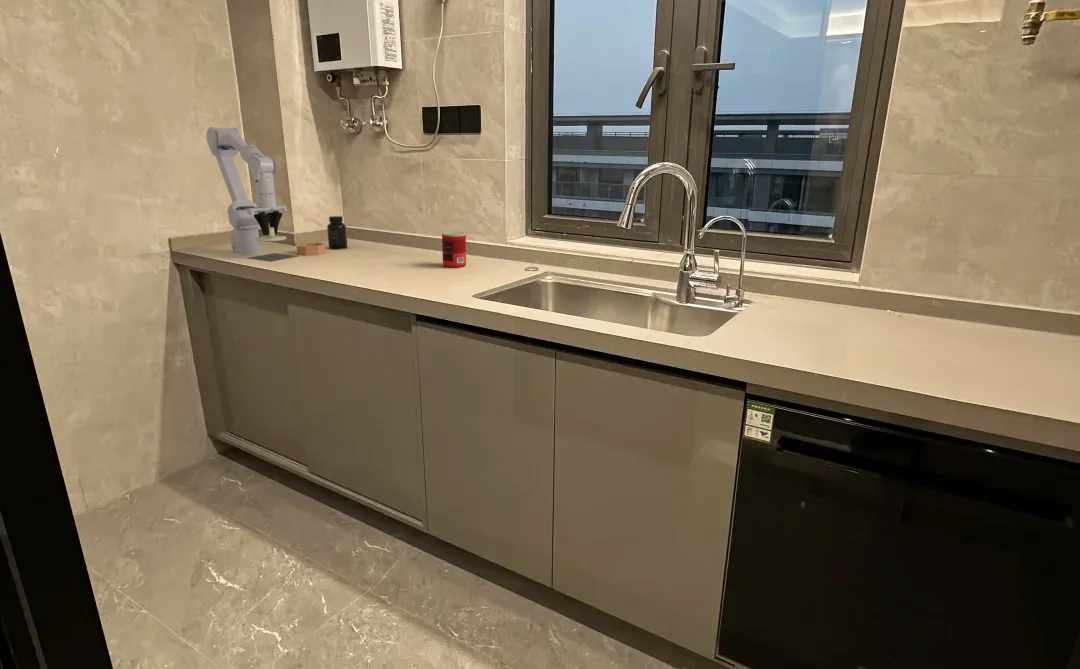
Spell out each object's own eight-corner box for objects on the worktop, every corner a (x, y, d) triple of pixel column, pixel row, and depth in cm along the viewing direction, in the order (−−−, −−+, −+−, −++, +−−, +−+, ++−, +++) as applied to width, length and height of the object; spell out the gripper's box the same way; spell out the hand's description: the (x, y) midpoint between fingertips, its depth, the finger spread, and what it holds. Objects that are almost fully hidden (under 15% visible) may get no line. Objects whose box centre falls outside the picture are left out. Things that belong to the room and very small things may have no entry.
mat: (246, 259, 212) (245, 258, 212) (274, 254, 222) (274, 253, 222) (271, 262, 207) (270, 261, 207) (299, 257, 217) (298, 256, 217)
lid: (248, 240, 210) (246, 228, 209) (272, 236, 219) (271, 225, 218) (269, 242, 206) (267, 230, 205) (293, 238, 215) (291, 226, 214)
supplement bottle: (351, 247, 238) (349, 216, 235) (337, 250, 233) (334, 217, 229) (339, 246, 242) (336, 215, 238) (324, 248, 236) (322, 216, 233)
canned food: (468, 264, 210) (467, 231, 207) (463, 268, 202) (462, 235, 199) (446, 263, 211) (445, 231, 208) (440, 267, 203) (439, 234, 200)
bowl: (292, 254, 221) (291, 245, 220) (312, 251, 230) (311, 241, 229) (311, 257, 217) (310, 247, 216) (332, 253, 226) (331, 243, 225)
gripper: (256, 195, 200) (260, 237, 204) (291, 193, 213) (295, 232, 217) (240, 194, 203) (245, 236, 207) (276, 192, 216) (280, 231, 220)
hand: (270, 234), depth 212 cm, fingers closed on lid, 3 cm apart
